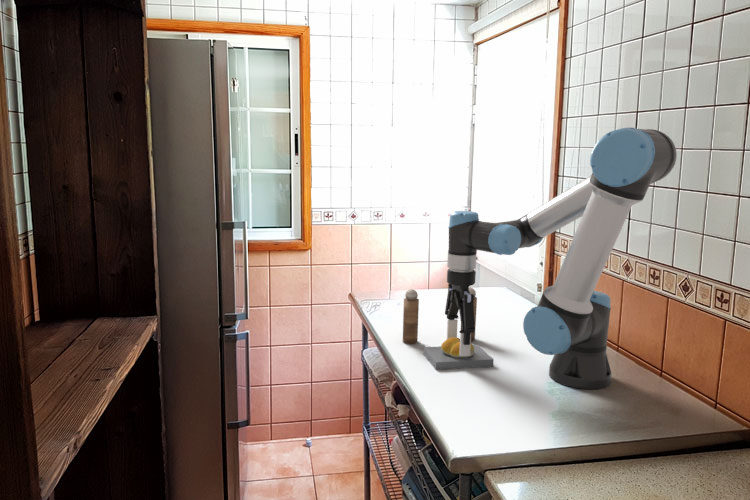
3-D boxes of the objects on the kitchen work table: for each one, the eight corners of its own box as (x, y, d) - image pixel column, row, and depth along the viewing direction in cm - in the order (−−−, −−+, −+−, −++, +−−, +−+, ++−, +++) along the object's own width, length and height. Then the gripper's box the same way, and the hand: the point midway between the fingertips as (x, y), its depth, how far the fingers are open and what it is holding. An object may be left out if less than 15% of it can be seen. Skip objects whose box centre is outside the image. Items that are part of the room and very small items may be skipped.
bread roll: (460, 361, 163) (461, 346, 163) (436, 352, 170) (436, 338, 169) (481, 354, 169) (481, 340, 168) (456, 345, 175) (456, 332, 175)
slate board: (493, 366, 166) (493, 359, 165) (435, 369, 162) (435, 362, 162) (477, 351, 177) (477, 344, 177) (423, 354, 174) (423, 347, 174)
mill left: (419, 343, 183) (420, 291, 180) (404, 344, 182) (406, 291, 179) (415, 339, 187) (416, 287, 184) (401, 339, 186) (402, 287, 183)
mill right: (476, 341, 186) (479, 289, 183) (463, 341, 185) (465, 289, 182) (471, 336, 190) (474, 285, 188) (458, 337, 190) (460, 286, 187)
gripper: (490, 278, 155) (486, 362, 159) (460, 260, 177) (457, 335, 181) (462, 279, 153) (458, 364, 157) (435, 261, 175) (432, 336, 179)
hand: (457, 348), depth 169 cm, fingers open, 10 cm apart
